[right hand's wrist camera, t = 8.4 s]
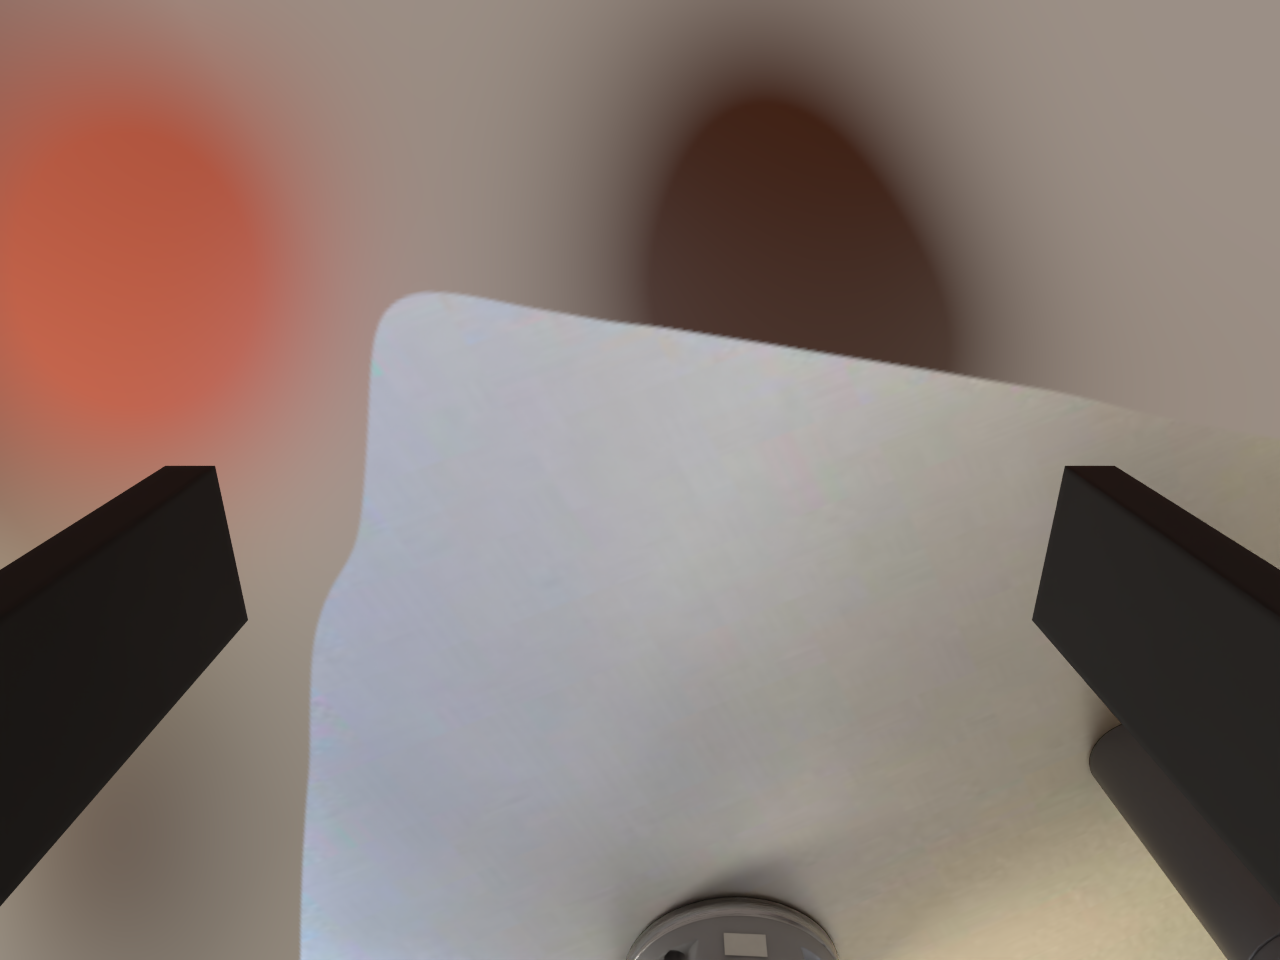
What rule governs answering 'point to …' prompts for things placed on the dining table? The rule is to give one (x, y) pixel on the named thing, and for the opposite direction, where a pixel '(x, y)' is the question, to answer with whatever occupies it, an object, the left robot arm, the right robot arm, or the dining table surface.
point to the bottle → (1188, 850)
